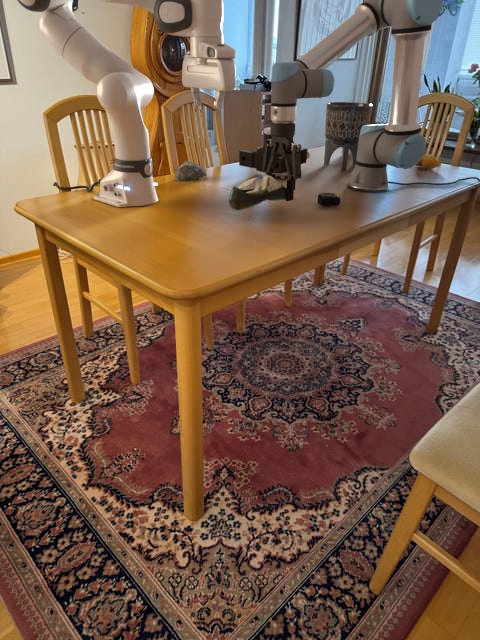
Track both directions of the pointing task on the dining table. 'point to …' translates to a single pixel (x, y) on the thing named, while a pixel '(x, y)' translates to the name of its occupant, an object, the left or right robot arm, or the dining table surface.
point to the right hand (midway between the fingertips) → (280, 197)
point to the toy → (428, 162)
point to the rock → (190, 172)
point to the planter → (345, 128)
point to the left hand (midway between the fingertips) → (207, 107)
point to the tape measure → (328, 199)
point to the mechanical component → (256, 157)
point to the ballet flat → (256, 193)
